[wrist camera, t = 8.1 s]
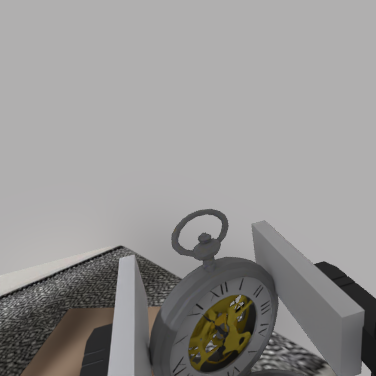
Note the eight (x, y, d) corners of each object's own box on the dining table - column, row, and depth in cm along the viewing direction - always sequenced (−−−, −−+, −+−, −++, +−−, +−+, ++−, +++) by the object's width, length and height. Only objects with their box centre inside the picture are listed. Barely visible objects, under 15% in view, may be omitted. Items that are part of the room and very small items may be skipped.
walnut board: (4, 408, 27) (0, 402, 26) (71, 313, 38) (69, 308, 37) (155, 419, 23) (152, 412, 23) (179, 312, 34) (178, 306, 34)
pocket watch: (424, 724, 6) (529, 468, 3) (135, 509, 10) (39, 302, 7) (375, 379, 13) (390, 184, 9) (213, 333, 17) (184, 186, 13)
